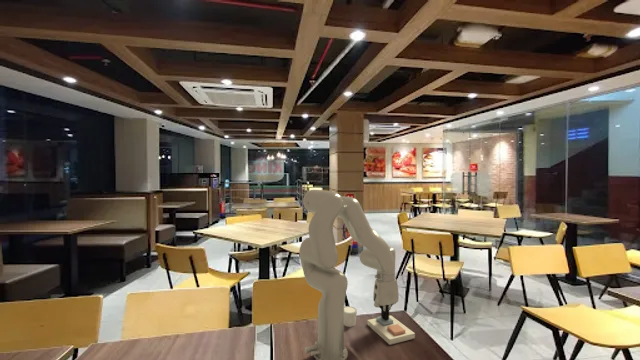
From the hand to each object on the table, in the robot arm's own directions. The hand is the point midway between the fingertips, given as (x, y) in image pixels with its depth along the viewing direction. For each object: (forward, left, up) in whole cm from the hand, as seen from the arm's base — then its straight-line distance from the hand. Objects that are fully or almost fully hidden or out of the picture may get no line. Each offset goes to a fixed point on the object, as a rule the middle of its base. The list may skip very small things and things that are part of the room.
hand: (385, 318), depth 129 cm
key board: (0, -4, -4) cm, 6 cm away
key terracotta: (0, -8, -3) cm, 8 cm away
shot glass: (-13, +8, -5) cm, 16 cm away
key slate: (0, 0, -2) cm, 2 cm away
